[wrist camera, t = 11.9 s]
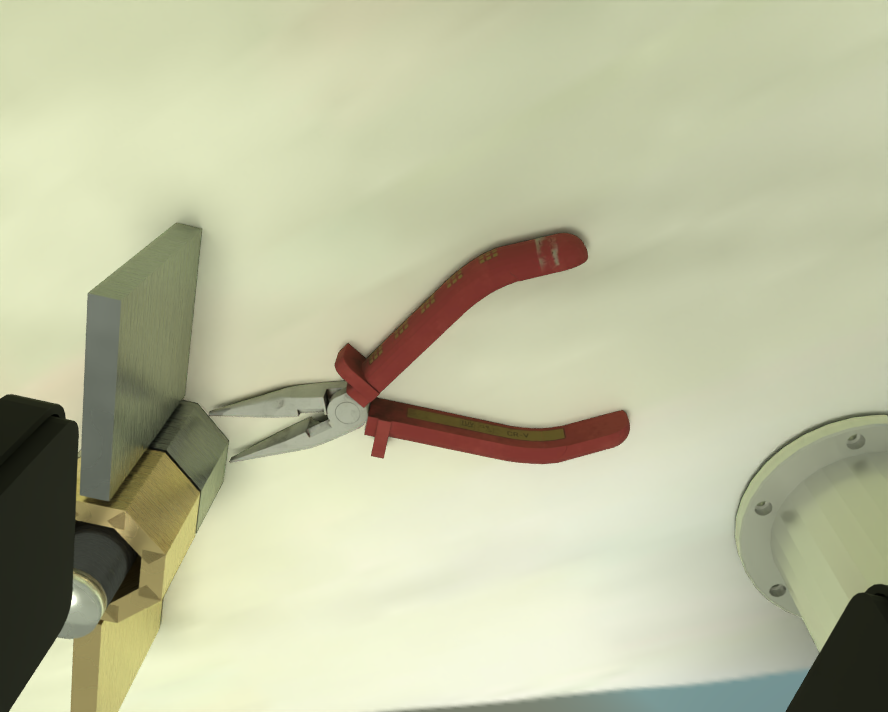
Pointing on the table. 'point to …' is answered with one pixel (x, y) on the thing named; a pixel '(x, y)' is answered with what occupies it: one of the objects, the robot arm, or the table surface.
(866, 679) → the robot arm
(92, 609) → the hinge pin
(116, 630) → the hinge leaf
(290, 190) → the table surface
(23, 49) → the table surface
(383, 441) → the pliers
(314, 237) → the table surface
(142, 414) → the hinge base
